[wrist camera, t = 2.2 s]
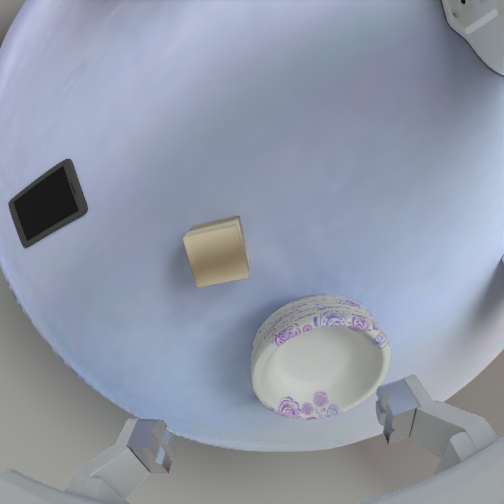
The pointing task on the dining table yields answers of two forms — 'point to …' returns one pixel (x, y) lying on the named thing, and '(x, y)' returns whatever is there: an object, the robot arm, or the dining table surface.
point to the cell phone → (48, 203)
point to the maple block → (217, 252)
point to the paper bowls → (318, 357)
